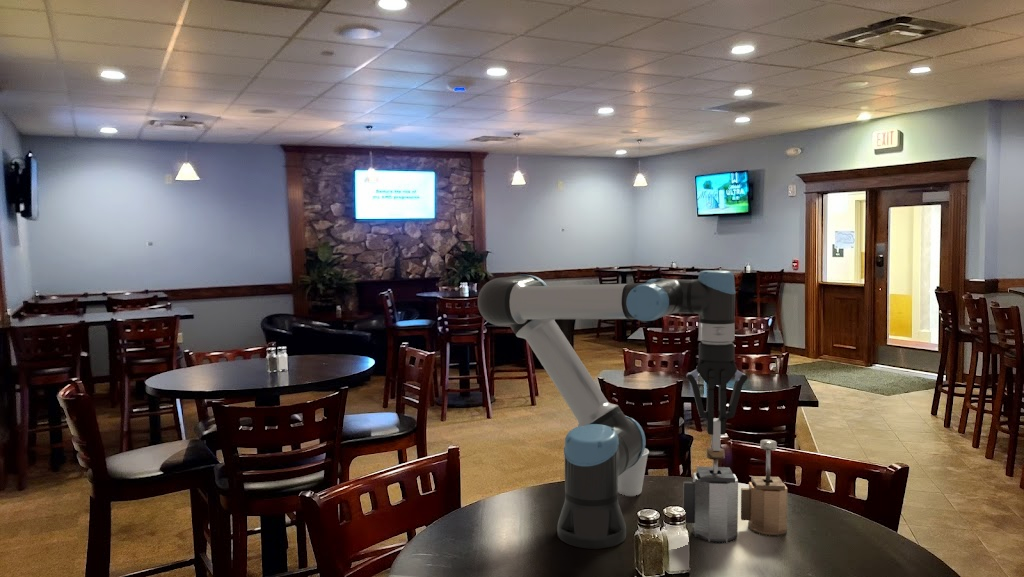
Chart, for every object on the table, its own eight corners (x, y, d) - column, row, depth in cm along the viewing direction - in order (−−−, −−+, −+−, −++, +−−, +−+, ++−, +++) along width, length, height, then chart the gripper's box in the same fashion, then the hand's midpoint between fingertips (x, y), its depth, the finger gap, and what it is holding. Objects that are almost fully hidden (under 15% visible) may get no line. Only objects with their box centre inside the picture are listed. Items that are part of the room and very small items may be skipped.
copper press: (781, 522, 166) (782, 475, 165) (790, 537, 158) (791, 488, 157) (737, 520, 167) (738, 474, 167) (744, 535, 159) (745, 486, 159)
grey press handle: (757, 494, 159) (757, 445, 159) (751, 485, 165) (752, 437, 164) (784, 495, 159) (785, 446, 158) (778, 486, 164) (779, 438, 164)
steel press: (733, 526, 164) (734, 465, 163) (741, 544, 155) (741, 480, 154) (681, 524, 166) (681, 464, 165) (685, 542, 156) (686, 478, 155)
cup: (609, 498, 183) (609, 455, 182) (610, 484, 192) (610, 444, 191) (649, 500, 181) (649, 457, 180) (648, 486, 191) (648, 445, 190)
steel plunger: (700, 512, 157) (701, 454, 156) (696, 500, 164) (697, 444, 163) (734, 514, 156) (734, 455, 155) (728, 502, 163) (729, 445, 162)
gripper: (687, 344, 154) (687, 453, 156) (751, 344, 152) (750, 454, 154) (683, 339, 162) (683, 443, 163) (744, 339, 160) (743, 444, 162)
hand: (716, 448), depth 159 cm, fingers closed
